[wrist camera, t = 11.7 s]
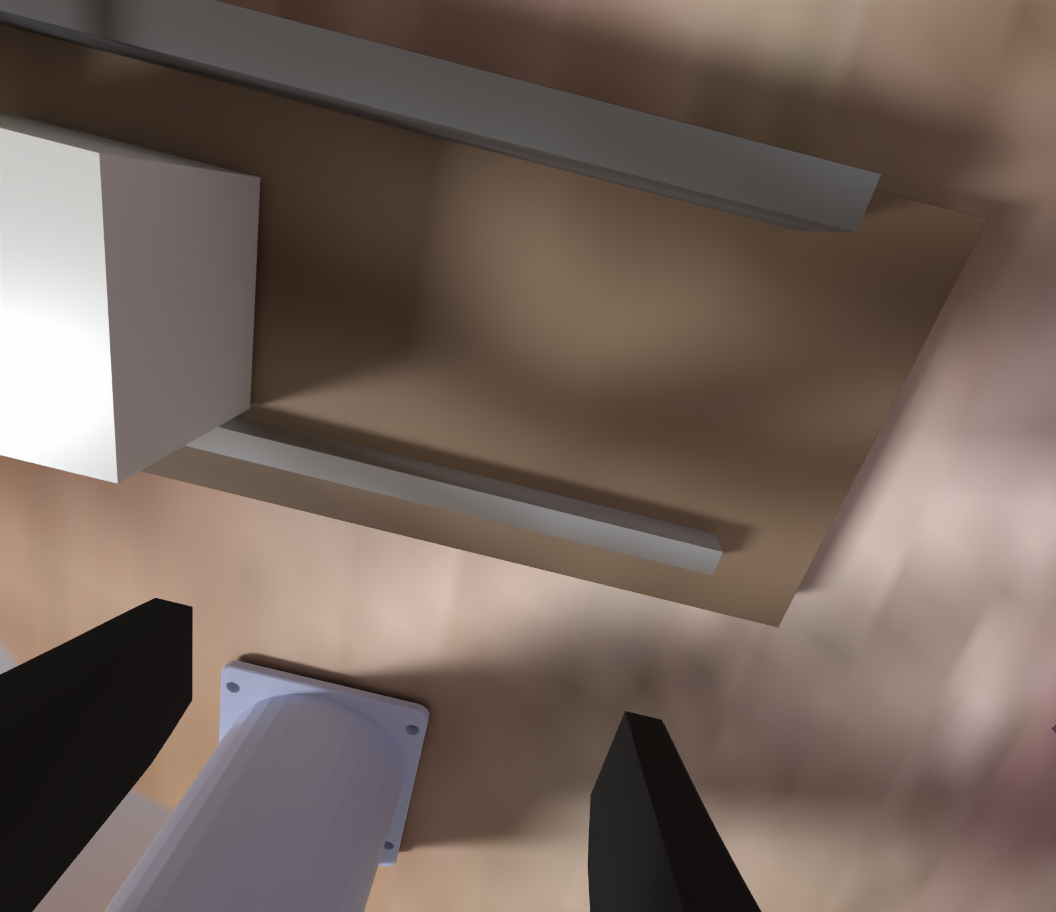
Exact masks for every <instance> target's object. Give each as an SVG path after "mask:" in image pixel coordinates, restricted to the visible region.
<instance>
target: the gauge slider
mask: <svg viewBox="0 0 1056 912" xmlns="http://www.w3.org/2000/svg"><path fill="white" fill-rule="evenodd" d="M259 198H260V177H257V176H253V175H249V174H245V173H241V172H237V171H233V170H229V169H225V168H222V167H218V166H214V165H210V164H206V163H202V162H198V161H194V160H190V159H186V158H182V157H179V156H175V155H171V154H167V153H163V152H159V151H155V150H151V149H147V148H143V147H139V146H136V145H132V144H128V143H124V142H120V141H116V140H112V139H108V138H104V137H100V136H96V135H93V134H89V133H85V132H81V131H77V130H73V129H69V128H65V127H61V126H57V125H54V124H50V123H46V122H42V121H38V120H34V119H30V118H26V117H22V116H18V115H14V114H9V113H4V112H0V455H3V456H7V457H11V458H15V459H19V460H23V461H27V462H32V463H36V464H40V465H44V466H48V467H52V468H56V469H60V470H64V471H68V472H72V473H77V474H81V475H85V476H89V477H93V478H97V479H101V480H105V481H109V482H113V483H117V484H118V483H119V482H121V481H123V480H125V479H127V478H128V477H130V476H132V475H134V474H135V473H137V472H139V471H141V470H142V469H144V468H146V467H148V466H149V465H151V464H153V463H155V462H157V461H158V460H160V459H162V458H164V457H165V456H167V455H169V454H171V453H172V452H174V451H176V450H178V449H180V448H181V447H183V446H185V445H187V444H188V443H190V442H192V441H194V440H195V439H197V438H199V437H201V436H202V435H204V434H206V433H208V432H210V431H211V430H213V429H215V428H217V427H218V426H220V425H222V424H224V423H225V422H227V421H229V420H231V419H233V418H234V417H236V416H238V415H240V414H241V413H243V412H245V411H247V410H248V409H250V400H251V377H252V355H253V332H254V310H255V287H256V265H257V242H258V220H259Z"/></svg>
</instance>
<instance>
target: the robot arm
mask: <svg viewBox="0 0 1056 912" xmlns="http://www.w3.org/2000/svg"><path fill="white" fill-rule="evenodd" d="M191 701H192V607H191V606H187V605H183V604H179V603H175V602H170V601H166V600H162V599H158V598H154V599H152V600H150V601H148V602H146V603H144V604H142V605H139V606H137V607H135V608H133V609H131V610H129V611H127V612H125V613H123V614H121V615H119V616H117V617H115V618H113V619H111V620H109V621H107V622H105V623H103V624H101V625H99V626H97V627H95V628H93V629H91V630H89V631H87V632H85V633H83V634H81V635H79V636H77V637H76V638H74V639H72V640H70V641H68V642H66V643H64V644H62V645H60V646H58V647H56V648H54V649H51V650H49V651H47V652H45V653H43V654H41V655H39V656H37V657H35V658H33V659H31V660H29V661H27V662H25V663H23V664H21V665H19V666H17V667H15V668H13V669H11V670H9V671H7V672H5V673H3V674H1V675H0V912H32V911H33V910H34V909H35V908H36V906H37V905H38V904H39V903H40V902H41V900H42V899H43V898H44V897H45V895H46V894H47V893H48V892H49V890H50V889H51V888H52V887H53V885H54V884H55V883H56V882H57V880H58V879H59V878H60V877H61V875H62V874H63V873H64V872H65V870H66V869H67V868H68V867H69V865H70V864H71V863H72V862H73V860H74V859H75V858H76V857H77V855H79V853H80V852H81V851H82V850H83V848H84V847H85V846H86V845H87V843H88V842H89V841H90V839H91V838H92V837H93V836H94V835H95V833H96V832H97V831H98V830H99V829H100V827H101V826H102V825H103V824H104V822H105V821H106V820H107V819H108V817H109V816H110V815H111V814H112V812H113V811H114V810H115V809H116V807H117V806H118V805H119V804H120V802H121V801H122V800H123V799H124V797H125V796H126V795H127V794H128V792H129V791H130V790H131V789H132V787H133V786H134V785H135V784H136V782H137V781H138V780H139V779H140V777H141V776H142V775H143V774H144V772H145V771H146V770H147V768H148V767H149V766H150V765H151V763H152V762H153V760H154V759H155V757H156V756H157V754H158V753H159V751H160V750H161V748H162V747H163V745H164V744H165V742H166V741H167V739H168V738H169V736H170V735H171V733H172V732H173V730H174V728H175V727H176V725H177V724H178V722H179V720H180V719H181V717H182V716H183V714H184V712H185V711H186V709H187V708H188V706H189V704H190V703H191ZM428 720H429V712H428V710H427V709H426V708H425V707H424V706H423V705H420V704H417V703H413V702H408V701H404V700H400V699H396V698H392V697H388V696H383V695H379V694H375V693H371V692H367V691H362V690H358V689H354V688H350V687H346V686H342V685H337V684H333V683H329V682H325V681H321V680H317V679H312V678H308V677H304V676H300V675H296V674H292V673H287V672H283V671H279V670H275V669H271V668H266V667H262V666H258V665H254V664H250V663H246V662H241V661H231V662H229V663H228V664H227V665H226V666H225V667H224V668H223V670H222V672H221V697H220V731H219V745H218V746H217V748H216V749H215V751H214V752H213V754H212V755H211V757H210V758H209V759H208V761H207V762H206V764H205V765H204V767H203V768H202V770H201V771H200V773H199V774H198V775H197V777H196V778H195V780H194V781H193V783H192V784H191V786H190V787H189V789H188V790H187V792H186V793H185V794H184V796H183V797H182V799H181V800H180V802H179V803H178V805H177V806H176V808H175V809H174V811H173V812H172V813H171V815H170V816H169V818H168V819H167V821H166V822H165V824H164V825H163V827H162V828H161V830H160V831H159V833H158V834H157V835H156V837H155V838H154V840H153V841H152V843H151V844H150V846H149V847H148V849H147V850H146V851H145V853H144V854H143V856H142V857H141V859H140V860H139V862H138V863H137V865H136V866H135V868H134V869H133V870H132V872H131V873H130V875H129V876H128V878H127V879H126V881H125V882H124V884H123V885H122V886H121V888H120V889H119V891H118V892H117V894H116V895H115V897H114V898H113V900H112V901H111V903H110V904H109V905H108V907H107V908H106V910H105V911H104V912H364V910H365V907H366V903H367V900H368V897H369V894H370V890H371V887H372V884H373V881H374V877H375V874H376V871H377V868H378V865H380V866H386V867H388V866H392V865H394V864H395V862H396V860H397V856H398V852H399V848H400V844H401V839H402V835H403V830H404V826H405V822H406V817H407V813H408V808H409V804H410V800H411V795H412V791H413V786H414V782H415V777H416V773H417V769H418V764H419V760H420V755H421V751H422V747H423V742H424V738H425V733H426V729H427V725H428ZM411 725H414V726H416V727H414V726H411ZM588 879H589V898H590V912H761V910H760V908H759V907H758V905H757V903H756V901H755V899H754V898H753V896H752V894H751V892H750V891H749V889H748V887H747V885H746V883H745V882H744V880H743V878H742V876H741V874H740V873H739V871H738V869H737V867H736V865H735V863H734V861H733V860H732V858H731V856H730V854H729V852H728V850H727V848H726V847H725V845H724V843H723V841H722V839H721V837H720V835H719V834H718V832H717V830H716V828H715V826H714V824H713V822H712V820H711V818H710V816H709V814H708V812H707V810H706V808H705V806H704V804H703V802H702V800H701V798H700V796H699V794H698V792H697V790H696V788H695V786H694V784H693V782H692V780H691V778H690V776H689V774H688V772H687V770H686V768H685V766H684V764H683V762H682V760H681V758H680V756H679V754H678V752H677V750H676V748H675V745H674V743H673V741H672V739H671V737H670V735H669V733H668V731H667V729H666V727H665V725H664V723H663V722H662V720H660V719H656V718H652V717H648V716H643V715H639V714H635V713H631V712H627V711H625V713H624V715H623V718H622V720H621V723H620V725H619V727H618V730H617V732H616V735H615V737H614V740H613V742H612V745H611V747H610V749H609V752H608V754H607V757H606V759H605V762H604V764H603V766H602V769H601V771H600V774H599V776H598V779H597V781H596V784H595V786H594V788H593V791H592V793H591V802H590V822H589V846H588Z"/></svg>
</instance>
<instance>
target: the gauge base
mask: <svg viewBox="0 0 1056 912" xmlns="http://www.w3.org/2000/svg"><path fill="white" fill-rule="evenodd" d="M0 112H4V113H9V114H14V115H18V116H22V117H26V118H30V119H34V120H38V121H42V122H46V123H50V124H54V125H57V126H61V127H65V128H69V129H73V130H77V131H81V132H85V133H89V134H93V135H96V136H100V137H104V138H108V139H112V140H116V141H120V142H124V143H128V144H132V145H136V146H139V147H143V148H147V149H151V150H155V151H159V152H163V153H167V154H171V155H175V156H179V157H182V158H186V159H190V160H194V161H198V162H202V163H206V164H210V165H214V166H218V167H222V168H225V169H229V170H233V171H237V172H241V173H245V174H249V175H253V176H257V177H260V198H259V220H258V242H257V265H256V287H255V310H254V332H253V355H252V377H251V400H250V409H248V410H247V411H245V412H243V413H241V414H240V415H238V416H236V417H234V418H233V419H231V420H229V421H227V422H225V423H224V424H222V425H220V426H218V427H217V428H215V429H213V430H211V431H210V432H208V433H206V434H204V435H202V436H201V437H199V438H197V439H195V440H194V441H192V442H190V443H188V444H187V445H185V446H183V447H181V448H180V449H178V450H176V451H174V452H172V453H171V454H169V455H167V456H165V457H164V458H162V459H160V460H158V461H157V462H155V463H153V464H151V465H149V466H148V467H146V468H144V469H142V470H141V471H142V472H146V473H151V474H155V475H159V476H163V477H167V478H171V479H175V480H179V481H183V482H187V483H191V484H195V485H200V486H204V487H208V488H212V489H216V490H220V491H224V492H228V493H232V494H236V495H240V496H244V497H248V498H253V499H257V500H261V501H265V502H269V503H273V504H277V505H281V506H285V507H289V508H293V509H297V510H302V511H306V512H310V513H314V514H318V515H322V516H326V517H330V518H334V519H338V520H342V521H346V522H350V523H355V524H359V525H363V526H367V527H371V528H375V529H379V530H383V531H387V532H391V533H395V534H399V535H404V536H408V537H412V538H416V539H420V540H424V541H428V542H432V543H436V544H440V545H444V546H448V547H452V548H457V549H461V550H465V551H469V552H473V553H477V554H481V555H485V556H489V557H493V558H497V559H501V560H505V561H510V562H514V563H518V564H522V565H526V566H530V567H534V568H538V569H542V570H546V571H550V572H554V573H559V574H563V575H567V576H571V577H575V578H579V579H583V580H587V581H591V582H595V583H599V584H603V585H607V586H612V587H616V588H620V589H624V590H628V591H632V592H636V593H640V594H644V595H648V596H652V597H656V598H661V599H665V600H669V601H673V602H677V603H681V604H685V605H689V606H693V607H697V608H701V609H705V610H709V611H714V612H718V613H722V614H726V615H730V616H734V617H738V618H742V619H746V620H750V621H754V622H758V623H762V624H767V625H771V626H775V627H779V625H780V623H781V621H782V619H783V617H784V615H785V613H786V611H787V609H788V607H789V605H790V603H791V601H792V599H793V597H794V596H795V594H796V592H797V590H798V588H799V586H800V584H801V582H802V580H803V578H804V576H805V574H806V572H807V570H808V568H809V566H810V564H811V562H812V560H813V559H814V557H815V555H816V553H817V551H818V549H819V547H820V545H821V543H822V541H823V539H824V537H825V535H826V533H827V531H828V529H829V527H830V525H831V523H832V521H833V520H834V518H835V516H836V514H837V512H838V510H839V508H840V506H841V504H842V502H843V500H844V498H845V496H846V494H847V492H848V490H849V488H850V486H851V484H852V483H853V481H854V479H855V477H856V475H857V473H858V471H859V469H860V467H861V465H862V463H863V461H864V459H865V457H866V455H867V453H868V451H869V449H870V447H871V446H872V444H873V442H874V440H875V438H876V436H877V434H878V432H879V430H880V428H881V426H882V424H883V422H884V420H885V418H886V416H887V414H888V412H889V410H890V409H891V407H892V405H893V403H894V401H895V399H896V397H897V395H898V393H899V391H900V389H901V387H902V385H903V383H904V381H905V379H906V377H907V375H908V373H909V372H910V370H911V368H912V366H913V364H914V362H915V360H916V358H917V356H918V354H919V352H920V350H921V348H922V346H923V344H924V342H925V340H926V338H927V336H928V335H929V333H930V331H931V329H932V327H933V325H934V323H935V321H936V319H937V317H938V315H939V313H940V311H941V309H942V307H943V305H944V303H945V301H946V299H947V298H948V296H949V294H950V292H951V290H952V288H953V286H954V284H955V282H956V280H957V278H958V276H959V274H960V272H961V270H962V268H963V266H964V264H965V262H966V260H967V259H968V257H969V255H970V253H971V251H972V249H973V247H974V245H975V243H976V241H977V239H978V237H979V235H980V233H981V231H982V229H983V227H984V225H985V223H986V222H987V220H988V219H984V218H980V217H976V216H973V215H969V214H965V213H961V212H957V211H953V210H950V209H946V208H942V207H938V206H934V205H930V204H927V203H923V202H919V201H915V200H911V199H907V198H904V197H900V196H896V195H892V194H888V193H884V192H881V191H877V190H875V188H876V186H877V183H878V181H879V179H880V176H881V174H878V173H874V172H871V171H867V170H863V169H859V168H855V167H851V166H848V165H844V164H840V163H836V162H832V161H828V160H825V159H821V158H817V157H813V156H809V155H805V154H802V153H798V152H794V151H790V150H786V149H783V148H779V147H775V146H771V145H767V144H763V143H760V142H756V141H752V140H748V139H744V138H740V137H737V136H733V135H729V134H725V133H721V132H717V131H714V130H710V129H706V128H702V127H698V126H695V125H691V124H687V123H683V122H679V121H675V120H672V119H668V118H664V117H660V116H656V115H652V114H649V113H645V112H641V111H637V110H633V109H629V108H626V107H622V106H618V105H614V104H610V103H607V102H603V101H599V100H595V99H591V98H587V97H584V96H580V95H576V94H572V93H568V92H564V91H561V90H557V89H553V88H549V87H545V86H541V85H538V84H534V83H530V82H526V81H522V80H519V79H515V78H511V77H507V76H503V75H499V74H496V73H492V72H488V71H484V70H480V69H476V68H473V67H469V66H465V65H461V64H457V63H453V62H450V61H446V60H442V59H438V58H434V57H430V56H427V55H423V54H419V53H415V52H411V51H408V50H404V49H400V48H396V47H392V46H388V45H385V44H381V43H377V42H373V41H369V40H365V39H362V38H358V37H354V36H350V35H346V34H342V33H339V32H335V31H331V30H327V29H323V28H320V27H316V26H312V25H308V24H304V23H300V22H297V21H293V20H289V19H285V18H281V17H277V16H274V15H270V14H266V13H262V12H258V11H254V10H251V9H247V8H243V7H239V6H235V5H232V4H228V3H224V2H220V1H216V0H0Z"/></svg>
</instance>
